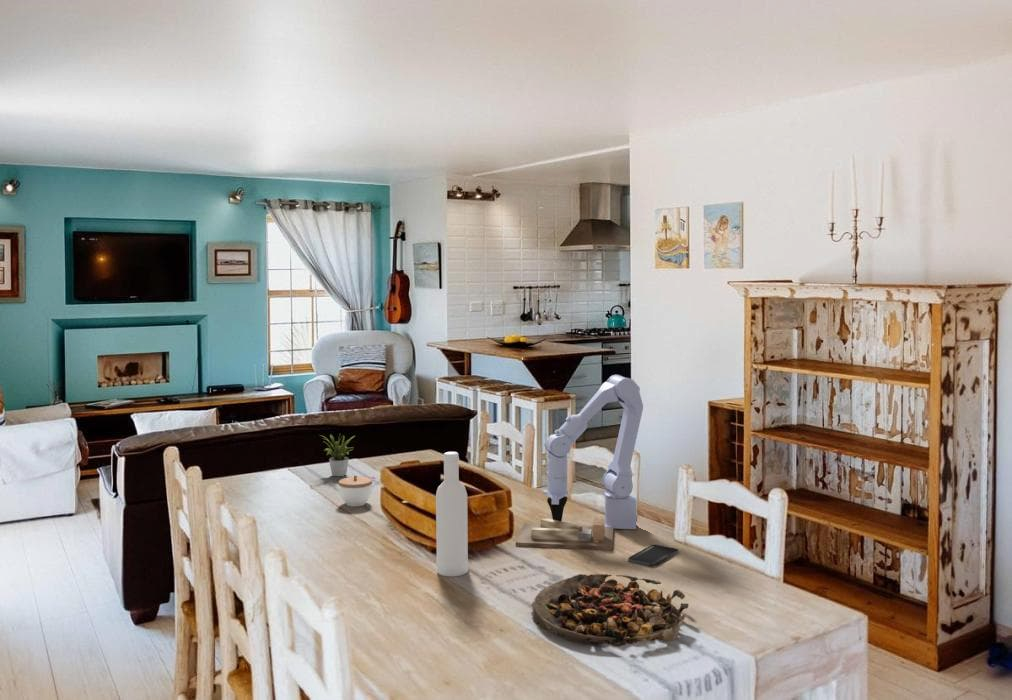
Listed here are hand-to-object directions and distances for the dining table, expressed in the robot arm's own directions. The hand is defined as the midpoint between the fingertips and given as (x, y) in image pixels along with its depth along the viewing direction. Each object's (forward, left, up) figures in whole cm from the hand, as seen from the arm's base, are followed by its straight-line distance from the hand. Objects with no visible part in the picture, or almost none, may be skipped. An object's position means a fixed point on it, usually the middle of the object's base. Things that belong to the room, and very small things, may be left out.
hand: (557, 522), depth 248 cm
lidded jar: (+67, -20, -2) cm, 70 cm away
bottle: (+23, +38, -2) cm, 45 cm away
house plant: (+87, -57, -2) cm, 104 cm away
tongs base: (-3, +7, -2) cm, 8 cm away
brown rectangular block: (-12, +10, -1) cm, 16 cm away
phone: (-27, +20, -3) cm, 34 cm away
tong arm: (-1, +5, -1) cm, 5 cm away
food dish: (-16, +61, -3) cm, 63 cm away
